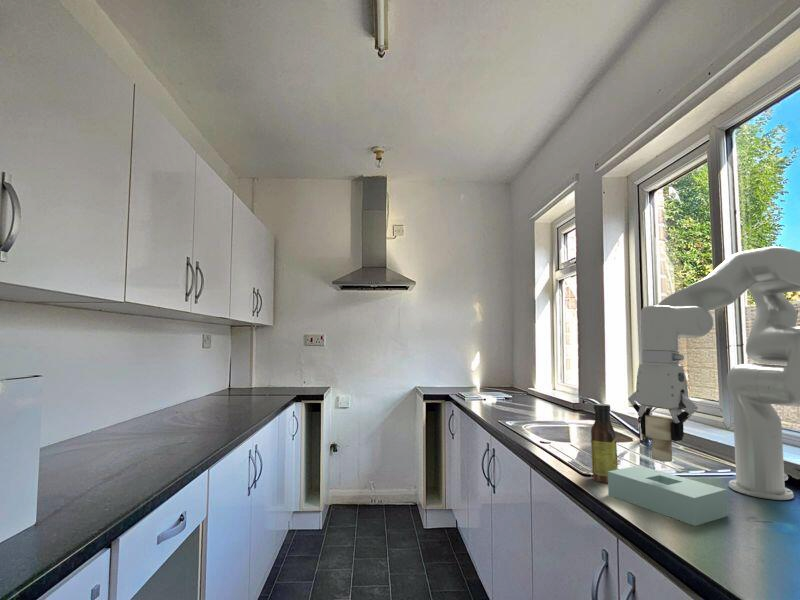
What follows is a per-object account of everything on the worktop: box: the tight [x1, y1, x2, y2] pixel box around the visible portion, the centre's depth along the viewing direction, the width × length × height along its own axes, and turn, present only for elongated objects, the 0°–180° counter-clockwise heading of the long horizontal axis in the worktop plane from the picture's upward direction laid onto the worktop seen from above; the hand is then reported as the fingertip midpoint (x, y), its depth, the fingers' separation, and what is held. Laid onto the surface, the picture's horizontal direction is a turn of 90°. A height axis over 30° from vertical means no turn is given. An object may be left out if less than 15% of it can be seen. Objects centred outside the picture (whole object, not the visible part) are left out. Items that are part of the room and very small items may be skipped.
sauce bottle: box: [590, 403, 619, 484], centre depth 121 cm, size 6×6×20 cm
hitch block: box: [607, 465, 729, 527], centre depth 103 cm, size 12×20×6 cm, turn 28°
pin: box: [645, 414, 673, 463], centre depth 104 cm, size 6×6×10 cm
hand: (661, 436), depth 104 cm, fingers closed on pin, 6 cm apart
